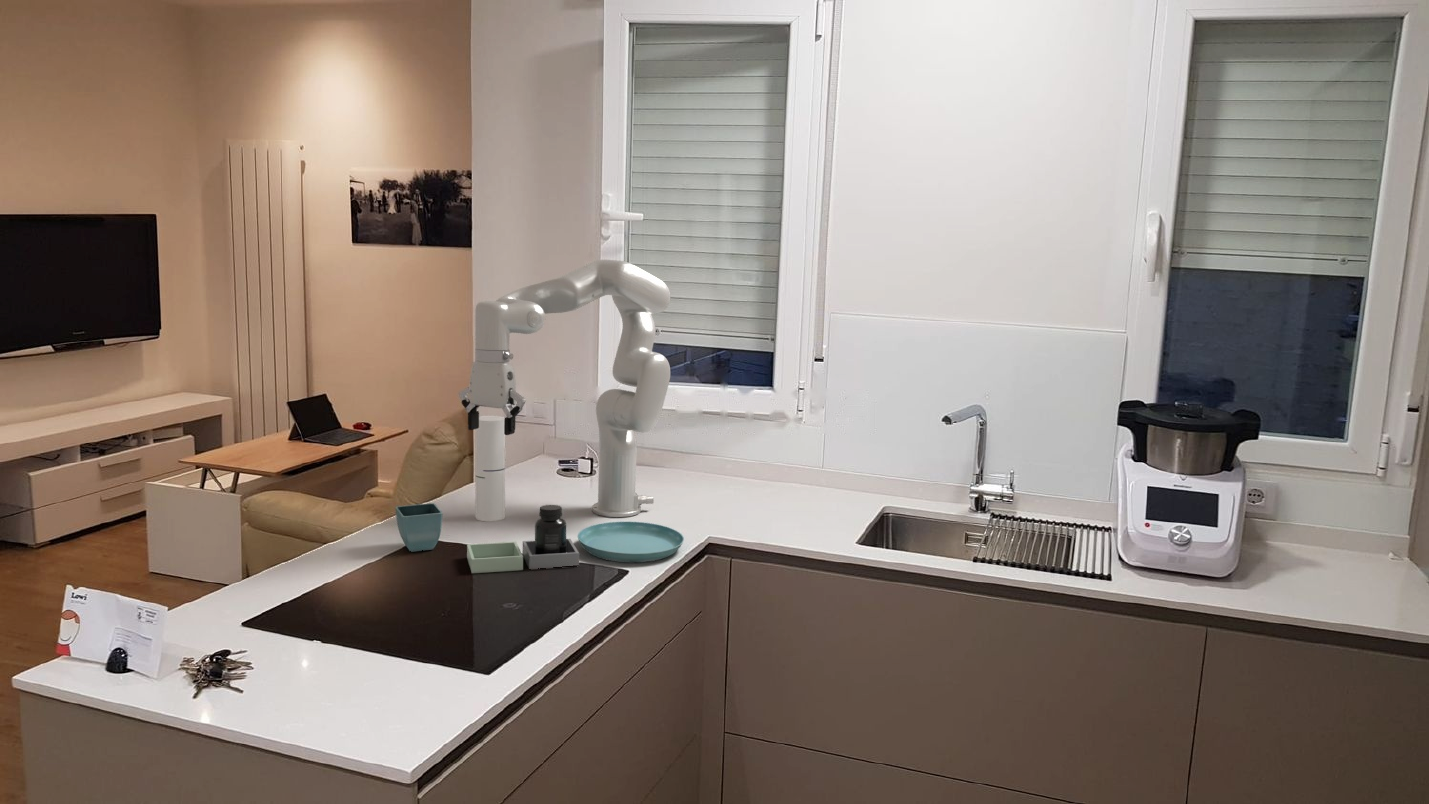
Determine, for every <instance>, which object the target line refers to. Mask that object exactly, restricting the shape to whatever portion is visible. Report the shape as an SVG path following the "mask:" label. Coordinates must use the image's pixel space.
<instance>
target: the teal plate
mask: <svg viewBox="0 0 1429 804" xmlns="http://www.w3.org/2000/svg"><path fill="white" fill-rule="evenodd" d="M577 539H578V542H579V543H580V545H581V546H582V547H583V549H584V550H586V551H587V552H588V553H590V554H591V555H592V556H594V557H596V556H597V558H600V559H601V560H605V559H607V561H610V560H611V562H616V561H619V562H618V563H630V562H637V563H647V562H646V561H650V562H655V560H656V561H659V560H663V559H666V558H669V557H670V556H672V555H674V553H676V552H677V551H679V549H680V548H681V547H682V545H683V543H684V541H685V537H684V535H683V534H682V533H681V532H680V531H678V530H676V529H674V528H672V527H669V526H666V525H665V526H664V525H660V524H658V523H657V524H656V523H650V522H642V521H611V522H602V523H598V524H592V525H590V526H587V527H585V528H583V529H581V530H580V531H579V532H578V533H577Z"/></svg>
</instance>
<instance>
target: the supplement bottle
mask: <svg viewBox="0 0 1429 804" xmlns="http://www.w3.org/2000/svg"><path fill="white" fill-rule="evenodd" d="M562 509H563V507H562V506H560V505H558V504H545V505H544V504H543V505H541V506H539V514H538V516H539V518H537V519H536V521H535V523H534V541H535V554H534V555H540V554H557V553H566V539H567V522H566V520H565V519H564V518H563V517H562V516H563V510H562Z"/></svg>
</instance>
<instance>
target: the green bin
mask: <svg viewBox="0 0 1429 804" xmlns="http://www.w3.org/2000/svg"><path fill="white" fill-rule="evenodd" d="M466 551H467V552H466V558H467V562H468V565H469V568H470V569H469V570H470V571H471V574H480V573H494V572H495V573H498V572H512V571H523V570H524V556H523V552H522V551H521V549H520V546H519V544H518V542H517V541H507V542H505V541H503V542H486V543H485V542H484V543H483V542H482V543H467V544H466Z"/></svg>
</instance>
